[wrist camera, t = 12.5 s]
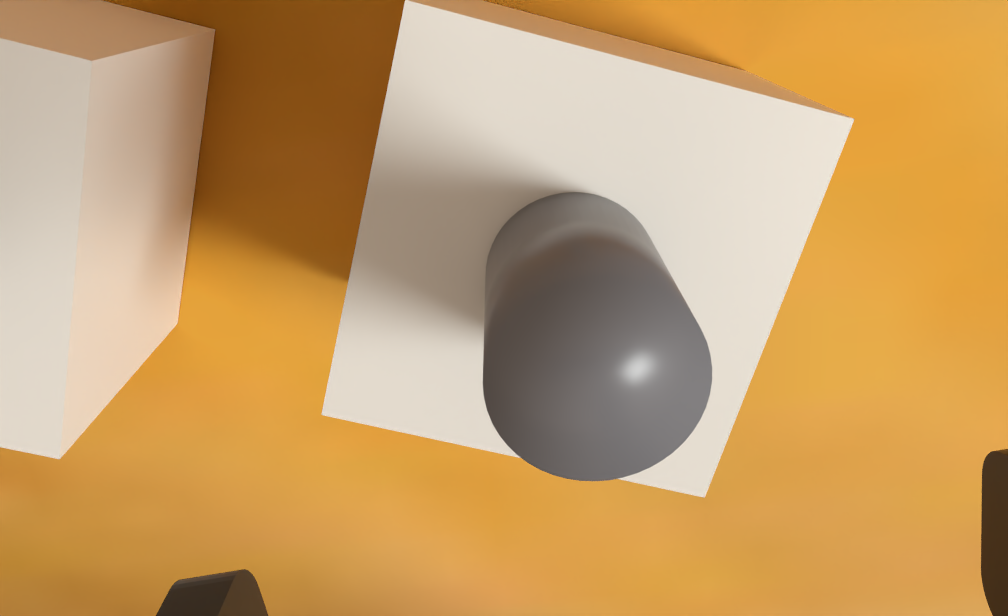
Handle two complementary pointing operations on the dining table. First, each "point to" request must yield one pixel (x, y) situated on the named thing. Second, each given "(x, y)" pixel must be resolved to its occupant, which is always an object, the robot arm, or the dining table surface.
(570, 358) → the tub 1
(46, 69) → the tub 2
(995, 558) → the robot arm
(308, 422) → the dining table surface
